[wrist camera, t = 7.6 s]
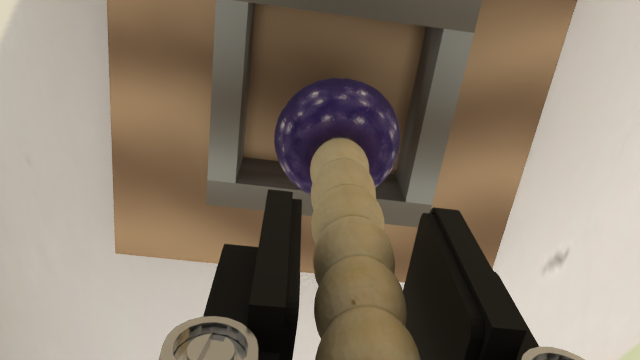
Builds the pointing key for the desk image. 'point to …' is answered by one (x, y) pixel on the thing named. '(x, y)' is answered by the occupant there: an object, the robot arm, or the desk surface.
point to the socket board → (304, 69)
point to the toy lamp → (348, 215)
